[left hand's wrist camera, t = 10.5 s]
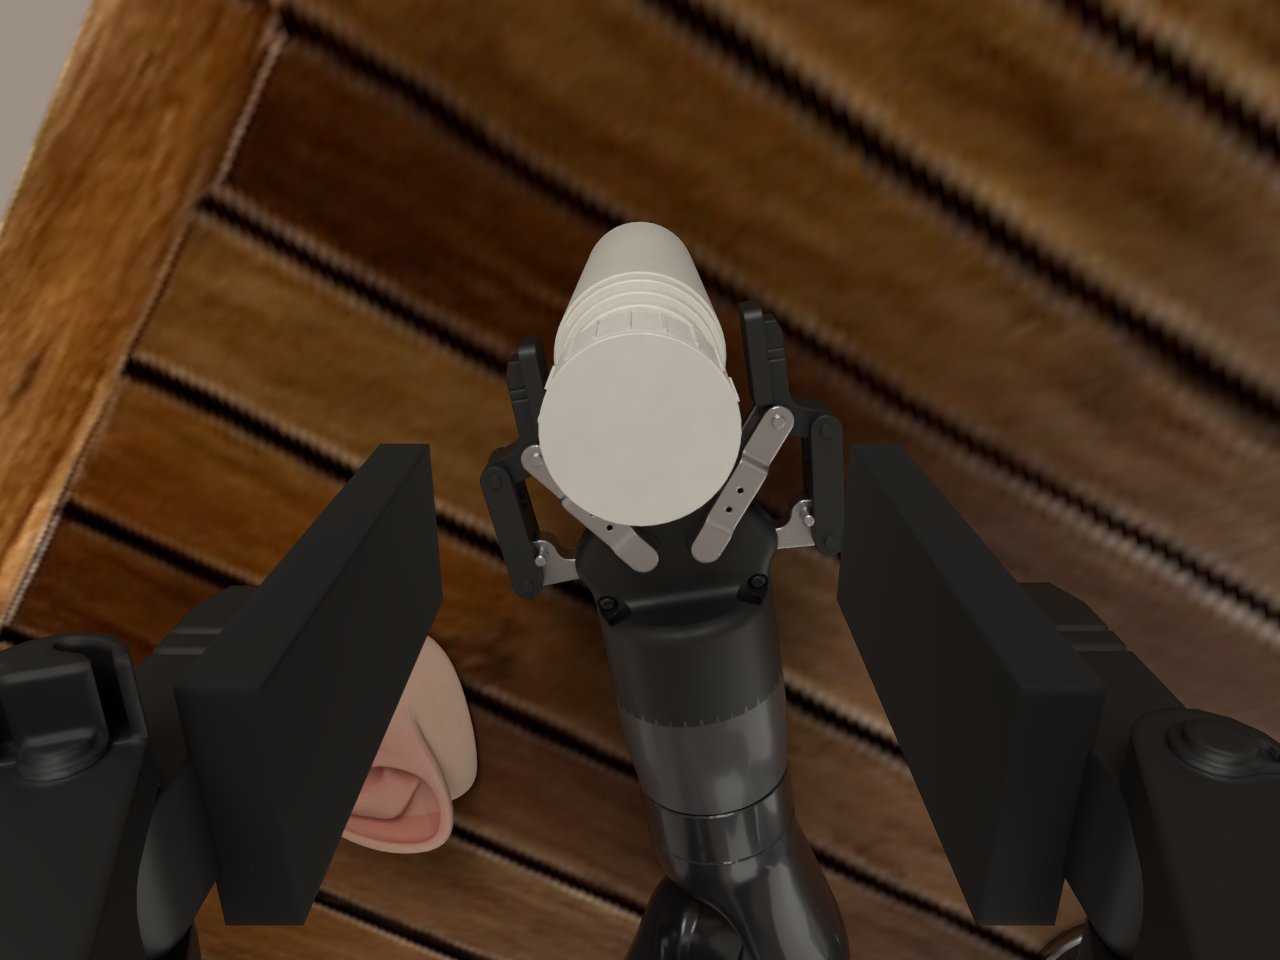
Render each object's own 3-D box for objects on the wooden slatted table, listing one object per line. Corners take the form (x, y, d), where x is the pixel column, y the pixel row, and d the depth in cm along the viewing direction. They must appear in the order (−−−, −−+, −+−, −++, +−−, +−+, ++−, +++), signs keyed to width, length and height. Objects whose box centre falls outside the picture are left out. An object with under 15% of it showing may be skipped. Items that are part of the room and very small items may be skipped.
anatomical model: (204, 638, 41) (454, 643, 41) (241, 596, 45) (469, 601, 45) (243, 861, 46) (467, 866, 46) (273, 807, 49) (480, 811, 49)
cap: (755, 334, 20) (769, 358, 18) (704, 506, 22) (712, 548, 19) (569, 288, 20) (560, 307, 18) (531, 467, 21) (518, 505, 19)
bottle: (706, 237, 38) (781, 346, 18) (679, 343, 40) (718, 552, 20) (598, 209, 38) (552, 289, 18) (574, 318, 40) (507, 505, 19)
